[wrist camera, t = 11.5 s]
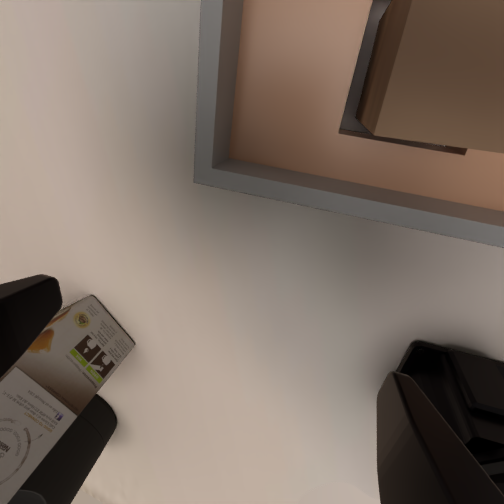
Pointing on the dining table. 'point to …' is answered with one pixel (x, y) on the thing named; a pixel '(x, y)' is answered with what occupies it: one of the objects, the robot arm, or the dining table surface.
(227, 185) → the box
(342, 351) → the dining table surface
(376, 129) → the walnut peg
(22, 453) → the coffee box
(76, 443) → the pen holder
